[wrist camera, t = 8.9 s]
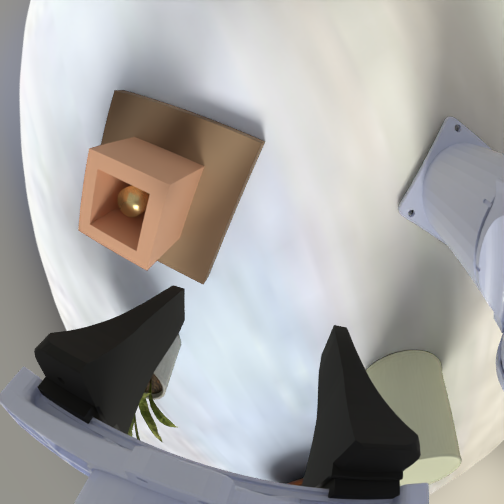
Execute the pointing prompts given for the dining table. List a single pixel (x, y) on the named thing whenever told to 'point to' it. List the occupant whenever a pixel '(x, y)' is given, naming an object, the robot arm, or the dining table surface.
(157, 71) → the dining table surface
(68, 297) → the dining table surface
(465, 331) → the dining table surface
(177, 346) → the house plant
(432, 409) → the can
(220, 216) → the keeper
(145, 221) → the open box
